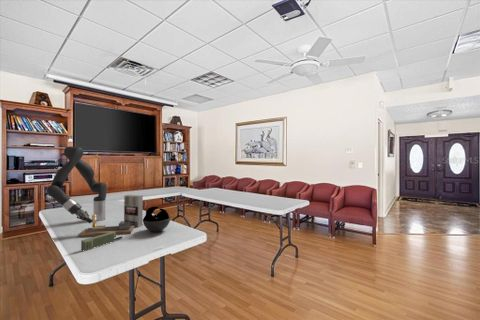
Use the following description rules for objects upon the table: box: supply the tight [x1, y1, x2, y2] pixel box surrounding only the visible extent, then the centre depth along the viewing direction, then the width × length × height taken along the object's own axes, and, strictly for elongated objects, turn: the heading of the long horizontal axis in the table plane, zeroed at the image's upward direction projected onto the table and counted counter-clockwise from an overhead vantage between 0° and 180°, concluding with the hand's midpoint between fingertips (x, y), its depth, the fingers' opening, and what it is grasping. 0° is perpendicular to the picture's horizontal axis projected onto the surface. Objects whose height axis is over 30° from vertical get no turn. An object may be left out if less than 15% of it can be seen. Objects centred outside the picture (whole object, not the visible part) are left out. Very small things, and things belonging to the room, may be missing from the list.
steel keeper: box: [118, 220, 131, 230], centre depth 175 cm, size 6×7×5 cm
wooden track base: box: [77, 225, 135, 239], centre depth 172 cm, size 14×34×4 cm, turn 106°
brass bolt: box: [91, 214, 107, 229], centre depth 170 cm, size 3×8×12 cm, turn 106°
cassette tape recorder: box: [123, 194, 144, 228], centre depth 189 cm, size 14×6×25 cm, turn 76°
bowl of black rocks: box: [142, 205, 171, 233], centre depth 177 cm, size 20×20×19 cm
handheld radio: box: [80, 231, 123, 252], centre depth 149 cm, size 7×3×25 cm
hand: (91, 222), depth 169 cm, fingers closed
